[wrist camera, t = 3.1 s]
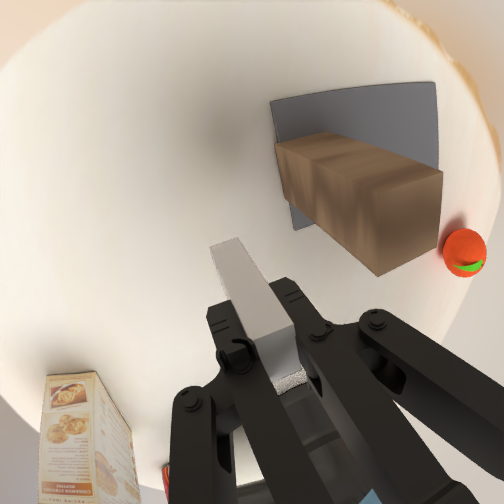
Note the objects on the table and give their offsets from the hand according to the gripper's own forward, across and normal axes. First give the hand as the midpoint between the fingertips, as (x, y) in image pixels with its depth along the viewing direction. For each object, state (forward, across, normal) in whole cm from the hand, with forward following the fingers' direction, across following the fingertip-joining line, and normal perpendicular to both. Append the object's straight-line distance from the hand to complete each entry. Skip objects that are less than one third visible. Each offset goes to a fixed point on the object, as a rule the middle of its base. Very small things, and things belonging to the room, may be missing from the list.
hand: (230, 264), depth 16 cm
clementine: (+11, -32, +17) cm, 38 cm away
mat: (+11, -18, 0) cm, 21 cm away
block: (+11, -10, 0) cm, 14 cm away
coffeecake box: (+11, +22, +21) cm, 33 cm away
